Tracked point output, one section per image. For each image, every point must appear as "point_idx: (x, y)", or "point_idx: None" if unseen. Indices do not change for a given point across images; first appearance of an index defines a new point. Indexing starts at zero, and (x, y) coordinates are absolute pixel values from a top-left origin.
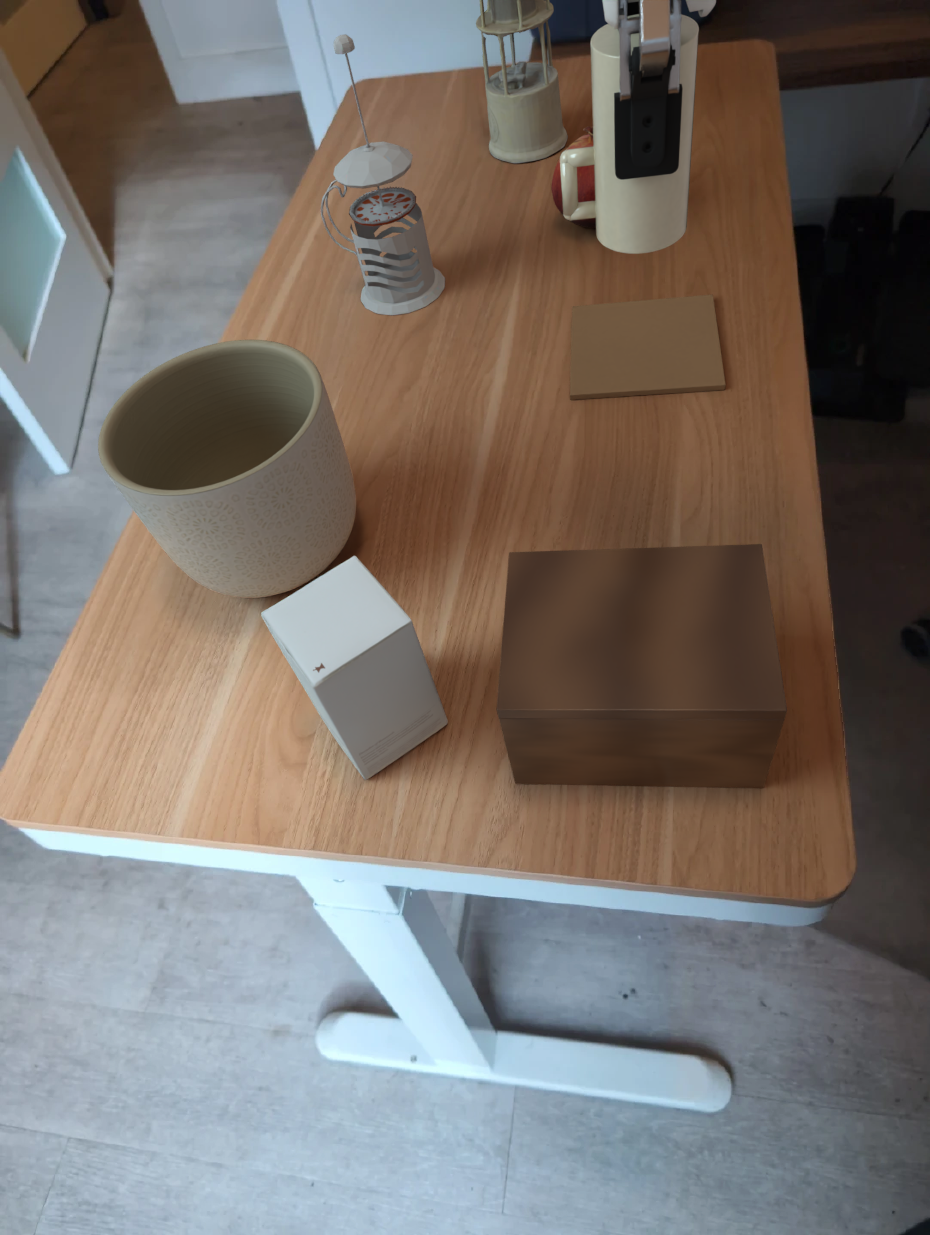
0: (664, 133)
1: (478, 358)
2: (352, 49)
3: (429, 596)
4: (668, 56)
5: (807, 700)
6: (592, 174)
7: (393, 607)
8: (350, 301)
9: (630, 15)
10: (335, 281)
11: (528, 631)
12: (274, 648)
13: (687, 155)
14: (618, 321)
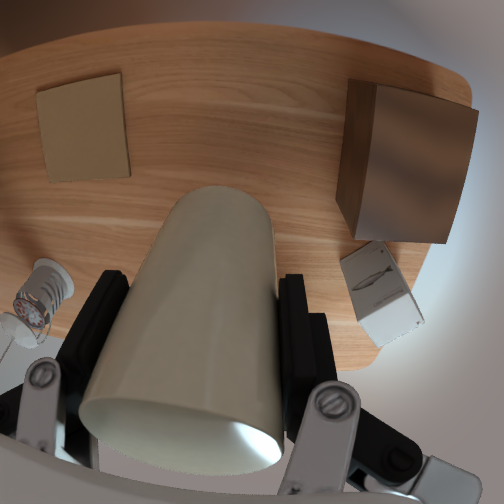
0: (329, 342)
1: (98, 235)
2: None
3: (298, 248)
4: (466, 471)
5: (392, 59)
6: None
7: (398, 301)
8: (68, 303)
9: (75, 423)
10: (56, 310)
11: (410, 229)
12: (319, 310)
13: (237, 249)
14: (59, 151)
